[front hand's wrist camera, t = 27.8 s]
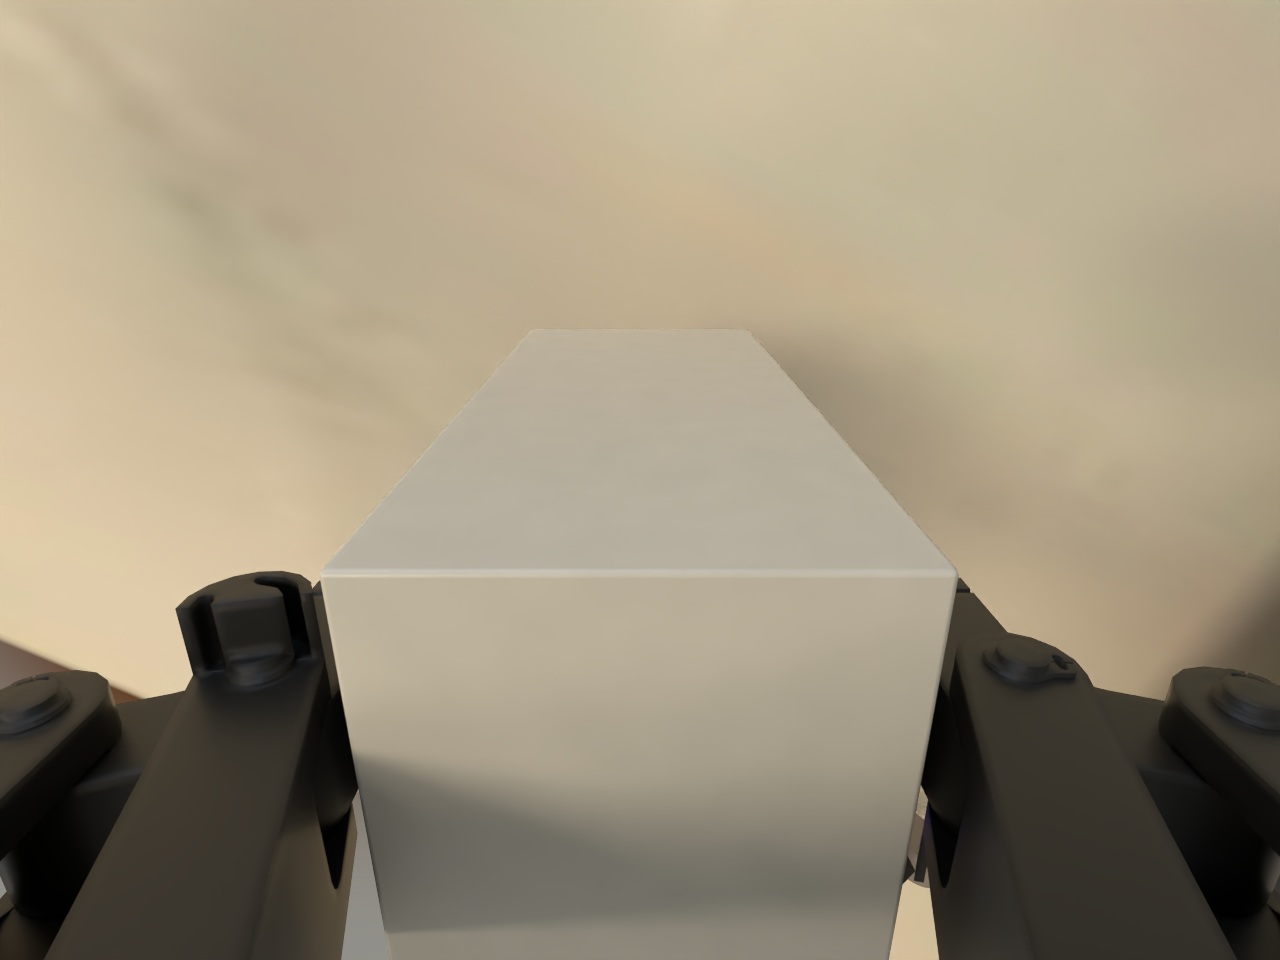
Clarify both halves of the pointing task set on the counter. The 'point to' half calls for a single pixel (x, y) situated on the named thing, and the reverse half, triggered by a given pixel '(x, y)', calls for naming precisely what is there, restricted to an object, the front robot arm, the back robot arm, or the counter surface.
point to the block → (639, 665)
